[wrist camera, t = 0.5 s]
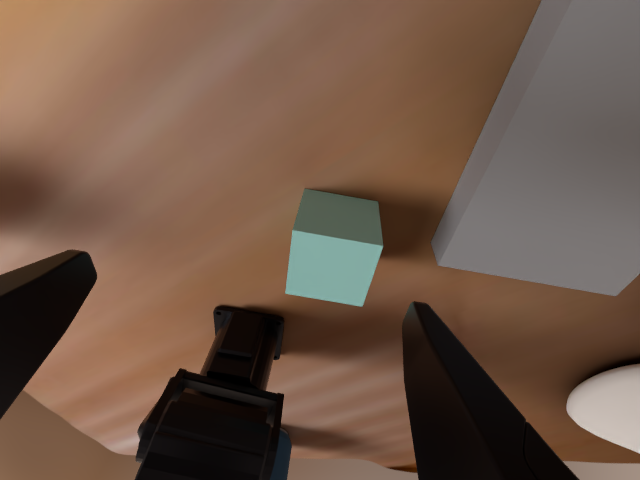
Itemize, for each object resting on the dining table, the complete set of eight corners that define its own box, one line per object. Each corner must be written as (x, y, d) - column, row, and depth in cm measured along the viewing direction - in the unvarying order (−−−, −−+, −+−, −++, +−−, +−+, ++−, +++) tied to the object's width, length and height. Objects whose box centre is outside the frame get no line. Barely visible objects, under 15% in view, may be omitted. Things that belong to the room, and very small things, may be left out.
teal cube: (361, 257, 24) (362, 306, 20) (297, 245, 24) (285, 293, 20) (377, 201, 21) (383, 246, 17) (304, 187, 21) (292, 230, 17)
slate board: (592, 270, 23) (615, 296, 21) (430, 242, 22) (437, 265, 20) (912, -76, 12) (1027, -94, 10) (604, -136, 12) (656, -167, 10)
